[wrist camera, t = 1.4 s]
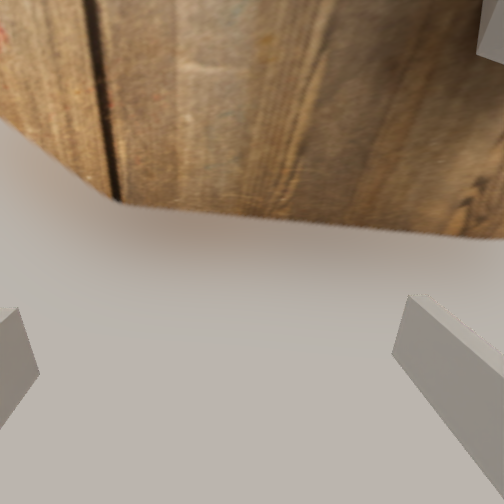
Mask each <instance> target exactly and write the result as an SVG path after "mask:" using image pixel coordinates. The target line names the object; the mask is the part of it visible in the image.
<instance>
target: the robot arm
mask: <svg viewBox="0 0 504 504" xmlns="http://www.w3.org/2000/svg"><path fill="white" fill-rule="evenodd" d="M392 355H393V357H394V358H395V359H396V361H397V362H398V363H399V365H400V366H401V367H402V368H403V370H404V371H405V372H406V373H407V375H408V376H409V377H410V379H411V380H412V381H413V383H414V384H415V385H416V386H417V388H418V389H419V390H420V392H421V393H422V394H423V395H424V397H425V398H426V399H427V401H428V402H429V403H430V405H431V406H432V407H433V408H434V410H435V411H436V412H437V414H438V415H439V416H440V417H441V419H442V420H443V421H444V423H445V424H446V425H447V426H448V428H449V429H450V430H451V432H452V433H453V434H454V435H455V437H456V438H457V439H458V441H459V442H460V443H461V444H462V446H463V447H464V448H465V450H466V451H467V452H468V454H469V455H470V456H471V457H472V459H473V460H474V461H475V463H476V464H477V465H478V466H479V468H480V469H481V470H482V472H483V473H484V474H485V475H486V477H487V478H488V479H489V481H490V482H491V483H492V484H493V486H494V487H495V488H496V490H497V491H498V492H499V494H500V495H501V496H502V497H503V499H504V354H502V353H501V352H500V351H499V350H497V349H496V348H494V347H493V346H492V345H491V344H490V343H488V342H487V341H486V340H485V339H483V338H482V337H481V336H480V335H478V334H477V333H476V332H475V331H473V330H472V329H471V328H469V327H468V326H467V325H466V324H464V323H463V322H462V321H461V320H459V319H458V318H457V317H455V316H454V315H453V314H452V313H450V312H449V311H448V310H446V309H445V308H444V307H443V306H441V305H440V304H439V303H438V302H436V301H435V300H434V299H433V298H431V297H430V296H429V295H408V299H407V302H406V306H405V309H404V312H403V316H402V319H401V323H400V326H399V330H398V333H397V337H396V341H395V344H394V348H393V351H392ZM39 375H40V373H39V370H38V367H37V364H36V361H35V358H34V354H33V351H32V349H31V345H30V342H29V339H28V336H27V333H26V331H25V327H24V324H23V321H22V318H21V315H20V312H19V309H18V307H17V308H16V307H14V308H0V429H1V427H2V426H3V425H4V424H5V422H6V421H7V419H8V418H9V416H10V415H11V414H12V412H13V411H14V410H15V408H16V407H17V405H18V404H19V403H20V401H21V400H22V398H23V397H24V396H25V394H26V393H27V391H28V390H29V389H30V387H31V386H32V384H33V383H34V381H35V380H36V379H37V377H38V376H39Z"/></svg>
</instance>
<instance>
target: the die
mask: <svg viewBox="0 0 504 504" xmlns="http://www.w3.org/2000/svg"><path fill="white" fill-rule="evenodd" d="M476 55H479V56H482V57H484V58H487V59H490V60H493V61H495V62H498V63H501V64H504V0H483V5H482V12H481V20H480V28H479V36H478V43H477V51H476Z"/></svg>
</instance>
